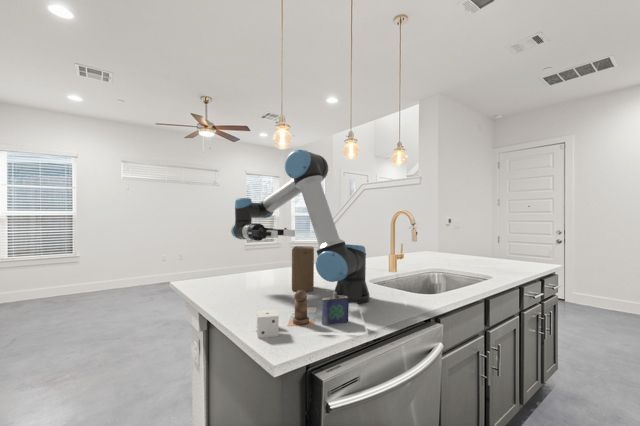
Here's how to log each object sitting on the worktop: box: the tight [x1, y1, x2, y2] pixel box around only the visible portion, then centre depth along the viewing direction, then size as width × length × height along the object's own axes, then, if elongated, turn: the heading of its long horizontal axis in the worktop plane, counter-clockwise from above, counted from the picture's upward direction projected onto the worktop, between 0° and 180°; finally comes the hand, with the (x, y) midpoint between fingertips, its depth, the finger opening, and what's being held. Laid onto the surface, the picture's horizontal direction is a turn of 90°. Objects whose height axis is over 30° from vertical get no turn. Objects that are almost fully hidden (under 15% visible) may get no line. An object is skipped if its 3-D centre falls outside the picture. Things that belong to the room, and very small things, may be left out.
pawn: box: [293, 290, 309, 325], centre depth 97 cm, size 5×5×10 cm
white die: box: [256, 309, 279, 339], centre depth 90 cm, size 6×6×6 cm
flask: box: [321, 290, 350, 326], centre depth 97 cm, size 9×3×11 cm, turn 110°
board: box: [287, 306, 317, 327], centre depth 103 cm, size 9×20×1 cm, turn 178°
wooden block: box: [291, 245, 315, 292], centre depth 144 cm, size 10×10×20 cm
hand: (285, 233), depth 118 cm, fingers open, 8 cm apart
